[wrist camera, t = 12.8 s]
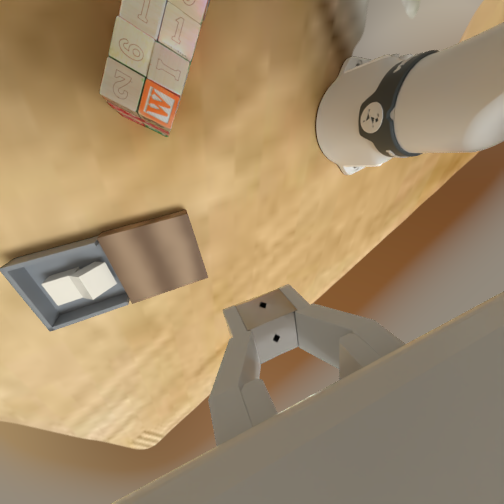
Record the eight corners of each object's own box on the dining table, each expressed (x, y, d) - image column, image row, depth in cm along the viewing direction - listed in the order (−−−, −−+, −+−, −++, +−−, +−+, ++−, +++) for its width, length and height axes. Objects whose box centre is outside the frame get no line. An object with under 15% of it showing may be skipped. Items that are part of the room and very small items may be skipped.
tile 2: (95, 261, 34) (105, 262, 33) (107, 282, 36) (117, 283, 35) (68, 275, 31) (78, 277, 30) (83, 297, 33) (93, 299, 32)
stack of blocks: (169, -80, 25) (173, -258, 14) (220, -33, 28) (255, -152, 17) (120, 116, 30) (96, 93, 19) (168, 139, 32) (170, 130, 22)
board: (185, 210, 37) (187, 213, 34) (205, 270, 42) (208, 277, 40) (101, 232, 34) (96, 238, 31) (134, 294, 39) (132, 303, 36)
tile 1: (41, 284, 31) (49, 275, 33) (57, 305, 33) (64, 296, 35) (72, 274, 32) (78, 267, 34) (87, 296, 34) (91, 287, 36)
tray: (100, 235, 34) (94, 242, 31) (131, 293, 39) (128, 304, 36) (14, 258, 31) (-2, 269, 28) (59, 317, 36) (49, 331, 33)
